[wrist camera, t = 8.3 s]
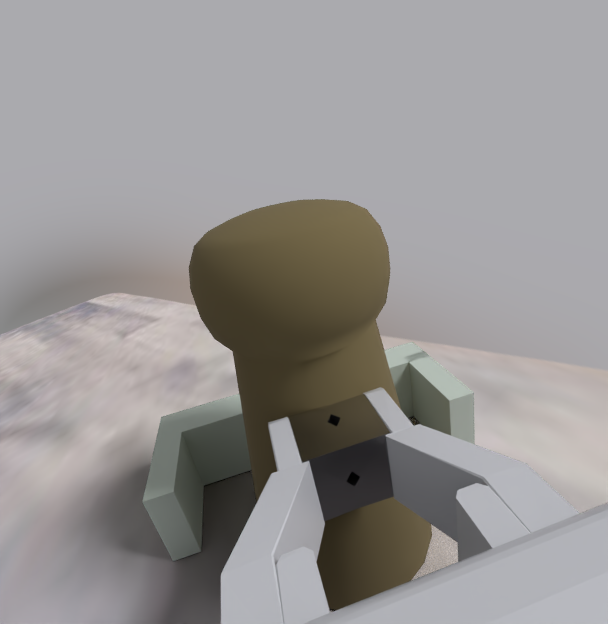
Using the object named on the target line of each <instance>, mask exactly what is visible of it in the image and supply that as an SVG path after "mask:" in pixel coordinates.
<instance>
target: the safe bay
mask: <svg viewBox="0 0 608 624" xmlns="http://www.w3.org/2000/svg"><path fill="white" fill-rule="evenodd" d="M384 351H385V355H386V358H387V362H388V365H389V369H390V372H391V376H392V379H393V383H394V386H395V390H396V393H397V397H398V400H399V404H400V407H401V411H402V412H403V413H404V414H405V416H406V417H407V418H409V417H412V416H414V417H415V418H416V419H417V420H418V422H419V423H420V424H421V425H423V426H426V427H429V428H432V429H434V430H437V431H440V432H442V433H445V434H448V435H450V436H453V437H456V438H459V439H461V440H464V441H467V442H469V443H472V444H474V392H473V391H471V390H470V389H469V388H468V387H467V386H465V385H464V384H463V383H462V382H460V381H459V380H458V379H457V378H456V377H454V376H453V375H452V374H451V373H450V372H448V371H447V370H446V369H445V368H444V367H442V366H441V365H440V364H439V363H437V362H436V361H435V360H434V359H433V358H431V357H430V356H429V355H428V354H427V353H425V352H424V351H423V350H422V349H421V348H419V347H418V346H417V345H416V344H414V343H413V342H410V343H407V344H403V345H400V346H397V347H393V348H390V349H387V350H384ZM250 470H251V464H250V457H249V451H248V445H247V438H246V432H245V426H244V419H243V413H242V407H241V400H240V394H237V395H233V396H230V397H227V398H223V399H220V400H216V401H213V402H210V403H206V404H203V405H200V406H196V407H193V408H190V409H186V410H183V411H180V412H176V413H173V414H170V415H166V416H163V417H161V421H160V425H159V430H158V434H157V439H156V443H155V448H154V452H153V456H152V461H151V465H150V470H149V474H148V479H147V483H146V487H145V492H144V496H143V501H142V502H143V504H144V506H145V508H146V510H147V512H148V514H149V516H150V518H151V520H152V522H153V524H154V526H155V527H156V529H157V531H158V533H159V535H160V537H161V539H162V541H163V543H164V545H165V547H166V549H167V550H168V552H169V554H170V556H171V558H172V560H173V561H176V560H178V559H181V558H184V557H187V556H190V555H192V554H195V553H198V552H201V546H202V519H203V492H204V485H207V484H210V483H213V482H216V481H219V480H222V479H225V478H228V477H231V476H234V475H237V474H240V473H244V472H247V471H250Z"/></svg>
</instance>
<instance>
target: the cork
mask: <svg viewBox="0 0 608 624" xmlns="http://www.w3.org/2000/svg"><path fill="white" fill-rule="evenodd" d="M189 276H190V289H191V292H192V295H193V298H194V300H195V303H196V306H197V309H198V312H199V314H200V317H201V319H202V321H203V322H204V324H205V325H206V327H207V328H208V330H209V331H210V333H211V334H212V336H213V337H214V339H215V340H217V341H218V342H220V343H221V344H223V345H224V346H226V347H227V348H229V349H230V350H232V351H233V356H234V362H235V369H236V375H237V381H238V388H239V394H240V400H241V407H242V413H243V419H244V426H245V432H246V438H247V445H248V451H249V457H250V464H251V470H252V476H253V483H254V489H255V496H256V502H257V501H258V499H259V497H260V495H261V493H262V491H263V489H264V487H265V485H266V483H267V481H268V479H269V477H270V475H271V474H272V473H274V472H277V467H276V462H275V457H274V452H273V448H272V443H271V438H270V433H269V428H268V422H272V421H275V420H278V419H282V418H285V417H288V416H291V415H295V414H298V413H302V412H305V411H308V410H312V409H315V408H319V407H322V406H328V405H331V404H334V403H337V402H339V401H342V400H346V399H349V398H352V397H355V396H358V395H361V394H363V393H365V392H368V391H371V390H374V389H377V388H379V387H381V388H384V390H385V391H386V392H387V393H388V395H389V396H390V397H391V398H392V399H393V401H394V402H395V403H396V404H397V406H398V407H399V408H400V409H401V407H400V404H399V400H398V397H397V393H396V390H395V386H394V383H393V379H392V376H391V372H390V369H389V365H388V362H387V358H386V355H385V351H384V348H383V344H382V341H381V337H380V334H379V330H378V327H377V323H376V318H377V317H378V315H379V313H380V311H381V310H382V308H383V306H384V305H385V303H386V298H387V292H388V285H389V278H390V277H389V276H390V262H389V251H388V245H387V243H386V240H385V237H384V235H383V232H382V229H381V227H380V225H379V224H378V223H377V222H376V220H375V219H374V218H373V217H372V215H371V214H370V213H369V212H368V210H367V209H365V208H362V207H360V206H358V205H355V204H353V203H351V202H349V201H339V200H338V201H337V200H325V199H321V200H318V199H316V200H297V201H290V202H285V203H280V204H275V205H270V206H266V207H263V208H259V209H255V210H252V211H249V212H246V213H244V214H242V215H239V216H237V217H235V218H232V219H230V220H228V221H226V222H225V223H223V224H221V225H219V226H217V227H215V228H213V229H212V230H210V231H208V232H207V233H206V234H205V235H204V236H203V237H202V238H201V239H200V241H198V243H197V244H196V245H195V246H194V249H193V253H192V257H191V261H190V265H189ZM288 419H289V417H288ZM431 537H432V531H431V524H430V523H429V522H427V521H426V520H425V519H423V518H422V517H420V516H419V515H417V514H416V513H414V512H413V511H412V510H410V509H409V508H407V507H406V506H404V505H403V504H401V503H400V502H399V501H397V500H396V499H394V497H391V498H388V499H385V500H382V501H379V502H376V503H373V504H370V505H367V506H363V507H360V508H358V509H355V510H352V511H350V512H347V513H345V514H342V515H340V516H337V517H335V518H332V519H330V520H327V521H325V526H324V531H323V535H322V540H321V544H320V549H319V553H318V557H317V562H316V563H317V566H318V570H319V573H320V577H321V581H322V584H323V588H324V591H325V595H326V598H327V602H328V605H329V609H336V610H339V609H341V608H344V607H346V606H349V605H351V604H354V603H356V602H359V601H361V600H364V599H366V598H369V597H371V596H374V595H376V594H379V593H381V592H384V591H386V590H389V589H392V588H394V587H397V586H399V585H402V584H404V583H407V582H409V581H411V580H412V578H413V577H414V575H415V574H416V573H417V571H418V570H419V569H420V567H421V566H422V565H423V563H424V561H425V558H426V554H427V551H428V547H429V544H430V540H431Z"/></svg>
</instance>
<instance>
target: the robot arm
mask: <svg viewBox="0 0 608 624" xmlns="http://www.w3.org/2000/svg"><path fill="white" fill-rule="evenodd" d="M288 417H289V419H288ZM288 417H285V418H282V419H278V420H275V421H272V422H268V428H269V433H270V438H271V443H272V448H273V452H274V457H275V462H276V467H277V472H274V473H272V474H271V475H270V477H269V479H268V481H267V483H266V485H265V487H264V489H263V491H262V493H261V495H260V497H259V499H258V501H257V503H256V505H255V507H254V509H253V511H252V513H251V515H250V517H249V519H248V521H247V523H246V525H245V527H244V529H243V531H242V533H241V535H240V537H239V539H238V541H237V543H236V545H235V547H234V549H233V551H232V553H231V555H230V557H229V559H228V561H227V563H226V565H225V567H224V569H223V571H222V573H221V624H608V502H607V503H605V504H602V505H600V506H597V507H595V508H592V509H590V510H587V511H585V512H582V513H579V512H578V511H577V510H576V509H575V508H574V507H573V506H572V505H571V504H570V503H568V502H567V501H566V500H565V499H564V498H563V497H562V496H561V495H560V494H559V493H558V492H557V491H555V490H554V489H553V488H552V487H551V486H550V485H549V484H548V483H547V482H546V481H545V480H544V479H542V478H541V477H540V476H539V475H538V474H537V473H536V472H535V471H534V470H533V469H532V468H531V467H529V466H528V465H527V464H526V463H524V462H521V461H518V460H515V459H513V458H510V457H507V456H505V455H502V454H499V453H496V452H494V451H491V450H488V449H486V448H483V447H480V446H478V445H475V444H472V443H469V442H467V441H464V440H461V439H459V438H456V437H453V436H450V435H448V434H445V433H442V432H440V431H437V430H434V429H432V428H429V427H426V426H423V425H421V424H418V425H415V426H414V425H413V424H412V423H411V422H410V421H409V419H408V418H407V417H406V416H405V414H404V413H403V412H402V411H401V409H400V408H399V407H398V406H397V404H396V403H395V402H394V401H393V399H392V398H391V397H390V396H389V395H388V393H387V392H386V391H385V390H384V388H381V387H379V388H377V389H374V390H371V391H368V392H365V393H363V394H361V395H358V396H355V397H352V398H349V399H346V400H342V401H339V402H337V403H334V404H331V405H328V406H322V407H319V408H315V409H312V410H308V411H305V412H302V413H298V414H295V415H291V416H288ZM391 497H394V499H396V500H397V501H399V502H400V503H401V504H403V505H404V506H406V507H407V508H409V509H410V510H412V511H413V512H414V513H416V514H417V515H419V516H420V517H422V518H423V519H425V520H426V521H427V522H429V523H430V524H432V525H433V526H435V527H436V528H438V529H439V530H441V531H442V532H443V533H445V534H446V535H448V536H449V537H451V538H452V539H454V540H455V541H456V542H458V562H457V563H455V564H452V565H450V566H447V567H445V568H442V569H440V570H437V571H434V572H432V573H429V574H427V575H424V576H422V577H419V578H417V579H414V580H412V581H409V582H407V583H404V584H402V585H399V586H397V587H394V588H392V589H389V590H386V591H384V592H381V593H379V594H376V595H374V596H371V597H369V598H366V599H364V600H361V601H359V602H356V603H354V604H351V605H349V606H346V607H344V608H341V609H339V610H336V611H333V612H331V613H330V609H329V605H328V602H327V598H326V595H325V591H324V588H323V584H322V581H321V577H320V573H319V570H318V566H317V563H316V562H317V557H318V553H319V549H320V544H321V540H322V535H323V531H324V526H325V521H327V520H330V519H332V518H335V517H337V516H340V515H342V514H345V513H347V512H350V511H352V510H355V509H358V508H360V507H363V506H367V505H370V504H373V503H376V502H379V501H382V500H385V499H388V498H391Z"/></svg>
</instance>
